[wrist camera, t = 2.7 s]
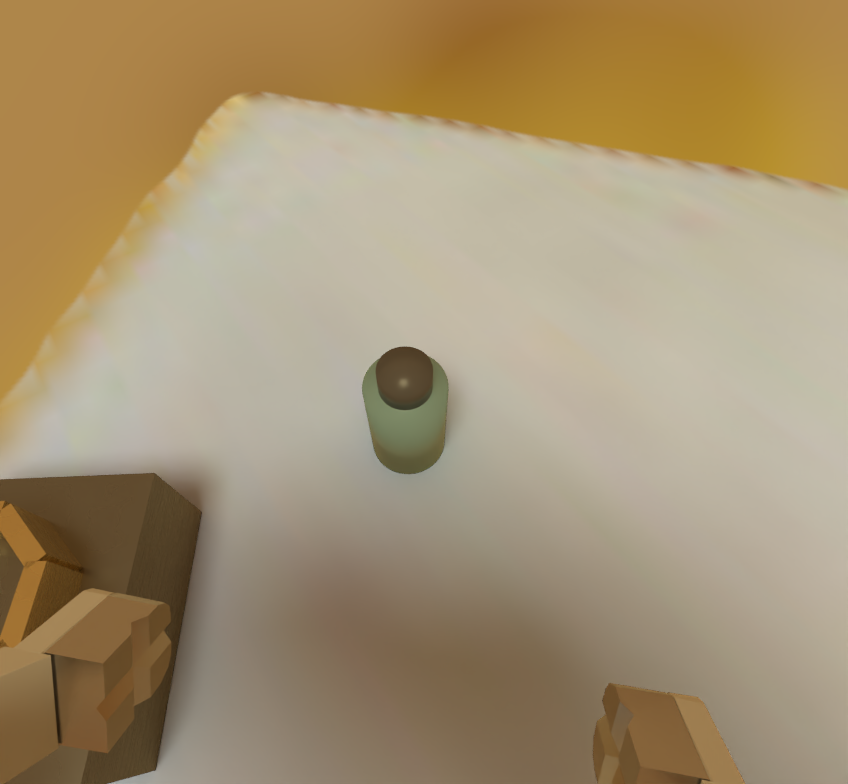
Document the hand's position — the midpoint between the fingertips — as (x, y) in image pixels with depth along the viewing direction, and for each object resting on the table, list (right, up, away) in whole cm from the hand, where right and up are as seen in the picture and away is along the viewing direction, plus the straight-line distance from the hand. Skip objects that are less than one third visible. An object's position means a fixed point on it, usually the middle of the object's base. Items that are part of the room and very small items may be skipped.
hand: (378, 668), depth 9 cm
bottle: (0, +2, +22) cm, 22 cm away
